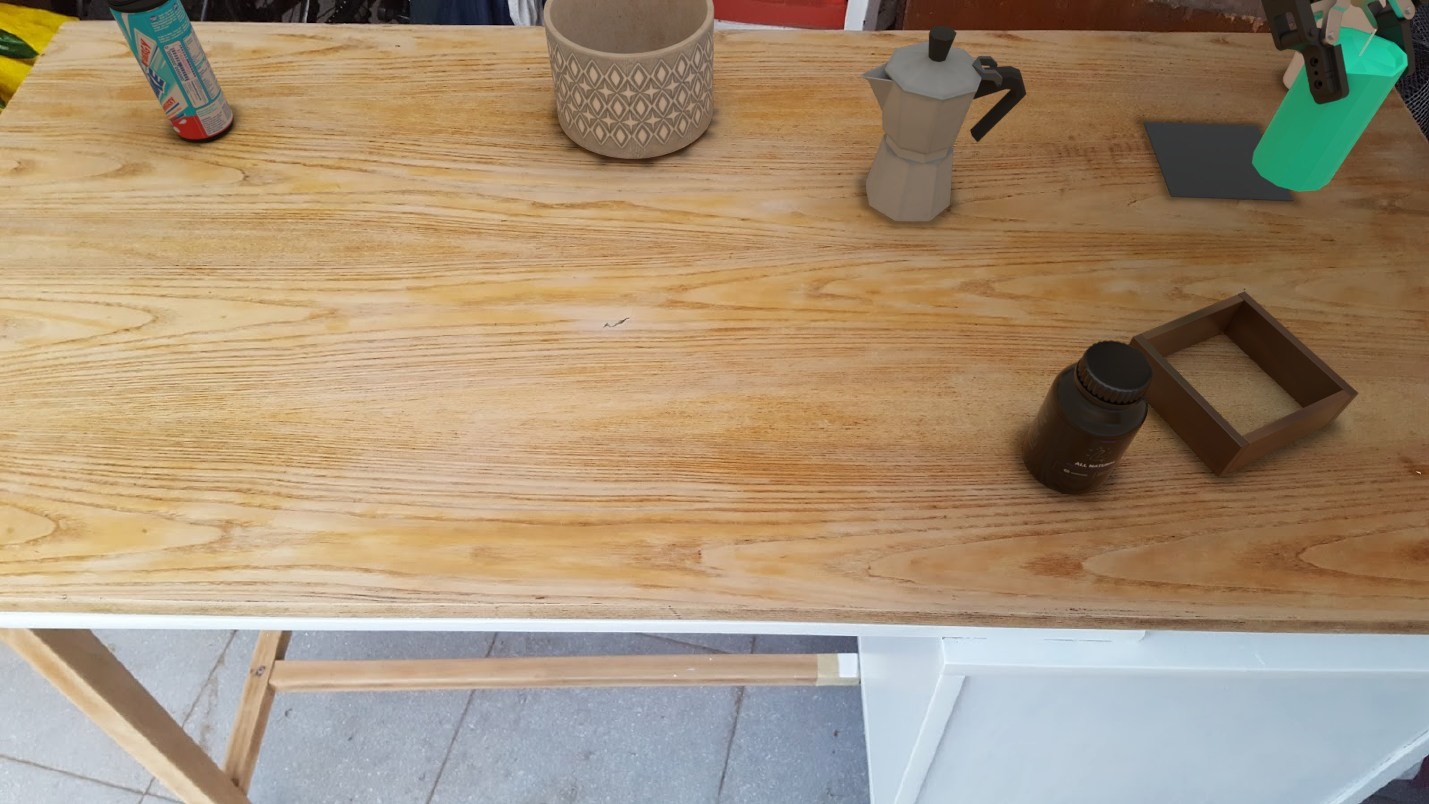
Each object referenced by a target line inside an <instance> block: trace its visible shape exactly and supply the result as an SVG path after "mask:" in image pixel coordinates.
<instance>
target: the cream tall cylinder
mask: <svg viewBox="0 0 1429 804" xmlns="http://www.w3.org/2000/svg"><path fill="white" fill-rule="evenodd" d="M1379 1H1380V2H1381V4H1382V6H1383V8H1384V7H1385V6H1386V0H1379ZM1322 19H1323V18H1321V19H1319V20H1318V21H1317V23H1316V25H1317V28H1321V26H1322ZM1341 26H1342V27H1350V28H1355V29H1358V30H1361V31H1364V32H1367V33H1370V34H1371V33H1372V32H1373V31H1374V30H1376V31H1378V29H1374V28H1373V27H1372V26H1371V24H1370V22H1369V21H1368V19H1367V17H1366V16H1365V14H1364V12H1363V10H1362V9H1361V8H1359V7H1354V6H1353V5H1351V3H1350V6H1349V8H1348V9H1347V10H1346V11H1345V12H1344V13H1343V15H1342V20H1341ZM1303 64H1304V58H1303V55H1302V54H1299V53H1298V52H1297V51H1296V50H1295V52H1294V54H1293V57H1292V58H1291V61H1290V63H1289V65H1288V66H1287V68H1286V69H1285V72H1284V74H1283V77H1282V82H1283V84H1284V86H1285V87H1286V88H1287V89H1288V90H1289V89H1290V87H1291V86H1292V84H1293V82H1294V80H1295V79H1296V77H1297V75H1298V73H1299V72H1300V70H1301V68H1302V66H1303Z"/></svg>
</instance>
